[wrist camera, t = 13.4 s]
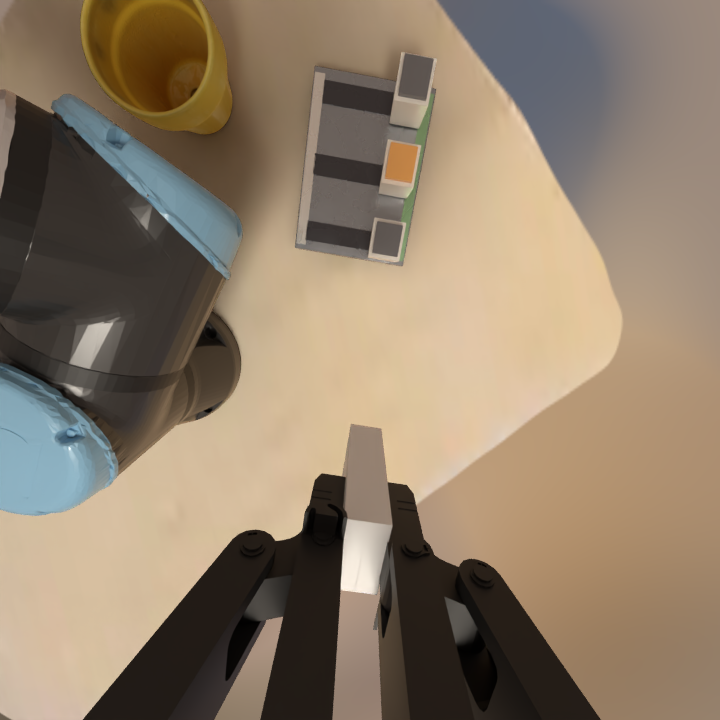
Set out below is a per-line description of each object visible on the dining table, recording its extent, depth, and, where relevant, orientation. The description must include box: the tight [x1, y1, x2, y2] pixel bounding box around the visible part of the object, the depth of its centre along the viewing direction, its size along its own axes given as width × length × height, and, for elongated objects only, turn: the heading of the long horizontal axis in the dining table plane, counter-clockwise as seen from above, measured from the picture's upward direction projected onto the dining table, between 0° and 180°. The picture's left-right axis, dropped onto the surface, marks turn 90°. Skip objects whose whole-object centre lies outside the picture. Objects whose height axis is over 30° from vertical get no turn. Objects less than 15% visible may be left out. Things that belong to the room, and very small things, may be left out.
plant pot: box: [80, 0, 232, 134], centre depth 31 cm, size 10×10×10 cm
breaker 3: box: [368, 218, 406, 262], centre depth 35 cm, size 3×4×6 cm
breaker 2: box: [378, 139, 421, 199], centre depth 33 cm, size 3×4×6 cm
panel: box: [295, 66, 436, 266], centre depth 37 cm, size 12×17×2 cm
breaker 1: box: [389, 52, 437, 129], centre depth 31 cm, size 3×4×6 cm
